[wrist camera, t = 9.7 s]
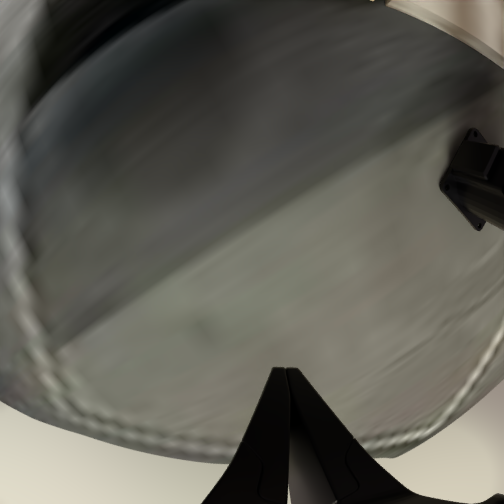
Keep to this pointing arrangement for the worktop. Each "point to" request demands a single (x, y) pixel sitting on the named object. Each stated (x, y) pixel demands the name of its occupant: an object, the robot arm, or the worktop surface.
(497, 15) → the door jamb
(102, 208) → the worktop surface
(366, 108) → the worktop surface
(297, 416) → the robot arm
